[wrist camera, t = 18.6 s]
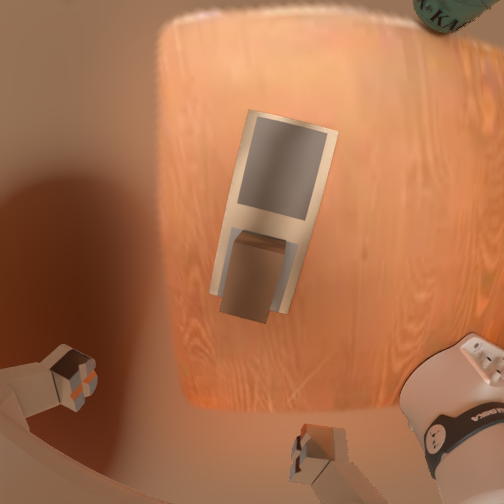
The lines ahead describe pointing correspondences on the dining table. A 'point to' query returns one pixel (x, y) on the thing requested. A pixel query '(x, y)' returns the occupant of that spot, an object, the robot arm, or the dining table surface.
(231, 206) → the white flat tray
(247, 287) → the block
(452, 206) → the dining table surface
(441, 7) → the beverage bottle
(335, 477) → the robot arm
